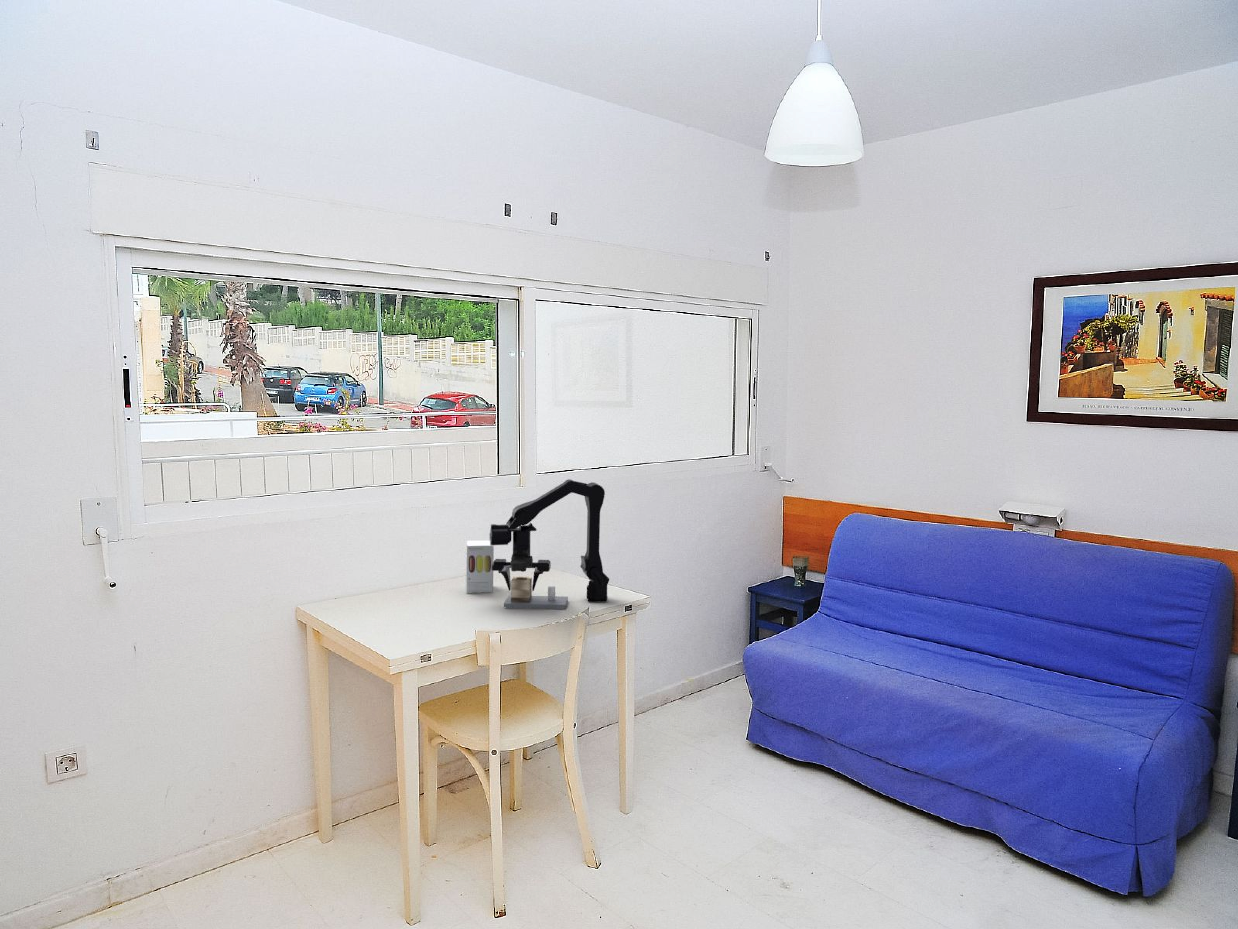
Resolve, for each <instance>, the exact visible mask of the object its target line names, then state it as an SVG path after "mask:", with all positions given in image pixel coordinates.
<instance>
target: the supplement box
mask: <svg viewBox="0 0 1238 929" xmlns="http://www.w3.org/2000/svg"><path fill="white" fill-rule="evenodd" d="M494 546H495V545H490V540H467V541H466V554H465V555H466V557H465V591H466V592H465V593H466V594H473V593H472V592H492V593H493V592H494V571H493V570H492V563H493V562H494V560H495V559H494V558H495V557H494V553H495V552H494Z"/></svg>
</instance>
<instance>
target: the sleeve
mask: <svg viewBox="0 0 1238 929" xmlns="http://www.w3.org/2000/svg"><path fill="white" fill-rule="evenodd" d="M510 580H511V590H510V595H511V602H530V600H531V598H532V596H533V593H532V592H533V591H532V585H533V577H532V576H513V577H512V579H510Z"/></svg>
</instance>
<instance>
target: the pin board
mask: <svg viewBox="0 0 1238 929" xmlns="http://www.w3.org/2000/svg"><path fill="white" fill-rule="evenodd" d="M568 601H569V597H568V596H563V595H562V596H559V595H557V596H556V586H555V585H549V586H547V595H532V598H531V600H530V602H511V594H510V595H507V597H506V599H505V601H504V602H503V608H504V607H506V608H505V609H525V608H527V609H530V610H532V609H533V610H536V609H537V610H566V608H567V606H568Z"/></svg>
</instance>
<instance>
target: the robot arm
mask: <svg viewBox="0 0 1238 929" xmlns="http://www.w3.org/2000/svg"><path fill="white" fill-rule="evenodd" d="M605 493H606V491H605V489H604V487H603V486H602V485H601V484H598V483H596V482H589V483H586V482H581V481H575V480H573V479H565V481H564V482H561V484H558V485H557V486H555V487H554V488H552V489H550V490H549V491H547V492H546V493H544V494H542V495H541V496H539V497H537V498H536V499H533V500H530V501H526V502H524V503H521V504H518V505H516V506H515V507H514V508H513V509H512V512H511V516H510V518H509V519H508V520H507V521H506V523H505V524H496V523H495V524H494V523H493V524H492V523H491V524H490V528H489V529H490V532H489V541H490V545H493V546H508V545H509V544H510V543H512V554H511V557H510V558H511V560H510V561H507V559H506V558H495V559H494V562H493V563H492V570H493V572H494V571H498V573H499V574H501V575H502V576H503V577H504V578H503V579H504V580H505V584H506V586H507V589H508V591H510V592H511V580H512V579H511V572H522V573H523V572H526V571H527V569H534V572H533V577H532V592H534V591H535V589H536V585H537V583H538V579H539V577H540V575H542V574H544V573H546V572H550V570H551V566H552V565H551V564H552V562H551V560H549V559H538V560H537V562H535V561H534V560H533V555H531V532H536V531H537V530H538V529H537V528H536V527H535V526H534V524H532V521H533V520H534V519H535V518H536V517H537V516H538V515H539V514H540V513H541V512H542V511H544V510H545V509H547V508H548V507H550V506H552V505H553V504H555V503H557V502H559V501H560V500H562V499H564V498H565V497H566V496H567V497H568V495H570V494H577V495H580V496H583V497H584V501H585V505H586V508H587V514H586V515H587V516H586V517H587V519H586V521H587V522H586V523H587V525H586V551H585V554H584V555H580V561H581V563H580V566H579V567H580V568H581V570H582V572H583V574H584V575H585V576H586V577H587V578H588V584H587V585H586V599H587V602H589V603H608V599H609V596H608V584H609V581H610V577H608V576H607V575H606V573H605V572H604V569H603V568H604V567H603V562H602V559H601V555H600V538H601V537H600V532H601V531H600V530H601V529H600V528H601V527H600V526H601V509H602V507H603V504H604V500H605V495H606V494H605Z"/></svg>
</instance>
